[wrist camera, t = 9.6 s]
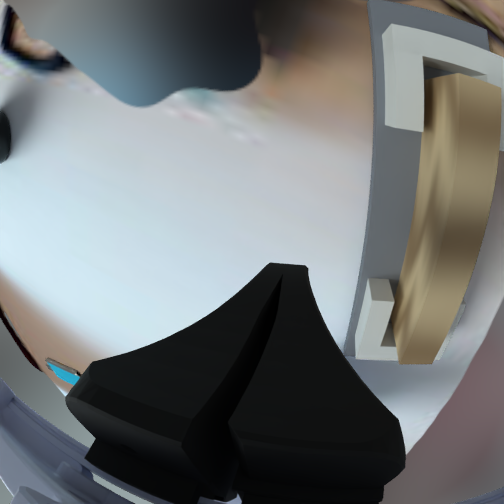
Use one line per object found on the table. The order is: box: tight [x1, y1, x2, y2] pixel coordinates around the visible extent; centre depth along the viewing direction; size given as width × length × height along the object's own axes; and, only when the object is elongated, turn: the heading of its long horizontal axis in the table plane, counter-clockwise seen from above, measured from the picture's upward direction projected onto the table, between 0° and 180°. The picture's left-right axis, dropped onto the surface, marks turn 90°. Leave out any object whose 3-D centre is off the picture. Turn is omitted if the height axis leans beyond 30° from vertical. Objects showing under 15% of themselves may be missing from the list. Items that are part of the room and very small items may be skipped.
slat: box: [390, 73, 502, 364], centre depth 13 cm, size 16×2×5 cm, turn 3°
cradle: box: [344, 0, 504, 361], centre depth 14 cm, size 26×8×4 cm, turn 3°
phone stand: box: [45, 358, 81, 385], centre depth 45 cm, size 20×12×2 cm, turn 98°
